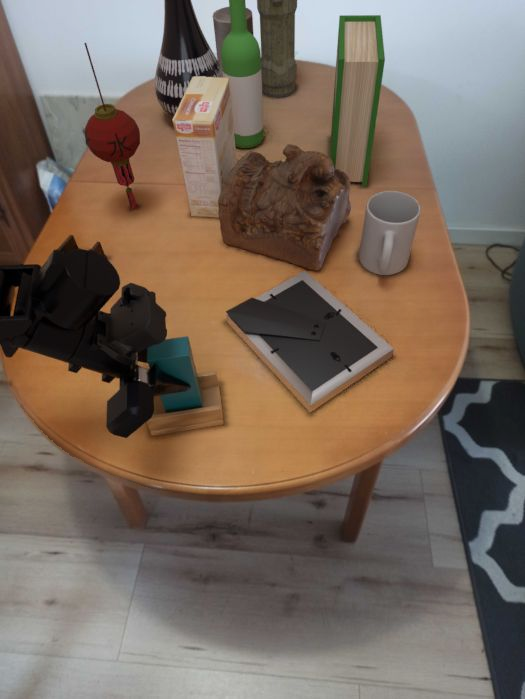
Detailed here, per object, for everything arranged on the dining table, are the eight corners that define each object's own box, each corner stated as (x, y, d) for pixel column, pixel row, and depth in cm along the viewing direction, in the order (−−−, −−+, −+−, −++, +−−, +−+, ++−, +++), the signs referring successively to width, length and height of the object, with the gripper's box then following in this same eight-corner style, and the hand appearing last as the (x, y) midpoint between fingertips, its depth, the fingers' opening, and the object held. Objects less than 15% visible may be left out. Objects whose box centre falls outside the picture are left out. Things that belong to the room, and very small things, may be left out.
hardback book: (366, 186, 101) (384, 59, 82) (329, 186, 101) (338, 59, 82) (364, 138, 111) (380, 15, 92) (330, 137, 112) (339, 15, 93)
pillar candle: (259, 66, 134) (257, 0, 122) (249, 83, 128) (245, 17, 116) (225, 62, 136) (219, -2, 124) (213, 80, 130) (205, 14, 118)
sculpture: (311, 279, 82) (205, 244, 87) (340, 266, 98) (249, 237, 104) (344, 156, 75) (226, 128, 81) (370, 164, 91) (270, 140, 97)
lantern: (164, 214, 98) (123, 48, 74) (116, 229, 96) (59, 63, 72) (150, 188, 103) (108, 25, 79) (105, 201, 101) (48, 38, 77)
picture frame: (227, 323, 81) (310, 413, 70) (225, 311, 79) (310, 402, 68) (304, 279, 86) (391, 357, 76) (304, 267, 84) (395, 345, 73)
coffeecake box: (206, 171, 106) (191, 75, 91) (239, 172, 105) (230, 76, 90) (189, 216, 97) (170, 119, 82) (225, 219, 97) (213, 120, 81)
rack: (76, 297, 86) (68, 281, 82) (44, 288, 87) (35, 272, 84) (107, 259, 91) (101, 242, 88) (76, 251, 93) (69, 234, 90)
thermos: (263, 102, 122) (255, -83, 94) (258, 79, 129) (250, -100, 102) (299, 99, 123) (302, -87, 95) (292, 76, 130) (293, -104, 102)
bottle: (241, 128, 116) (229, -29, 92) (270, 136, 113) (266, -23, 89) (222, 144, 112) (204, -15, 88) (252, 154, 109) (242, -8, 85)
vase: (162, 103, 124) (132, -44, 101) (226, 97, 125) (212, -50, 101) (161, 138, 115) (128, -15, 91) (230, 132, 115) (216, -22, 91)
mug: (360, 239, 91) (368, 187, 83) (409, 244, 90) (422, 192, 81) (353, 287, 84) (361, 236, 76) (406, 293, 83) (420, 242, 74)
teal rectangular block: (167, 418, 70) (146, 360, 59) (167, 399, 72) (147, 341, 61) (203, 413, 70) (189, 355, 60) (202, 395, 72) (188, 336, 62)
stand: (151, 435, 69) (144, 421, 66) (150, 395, 73) (144, 380, 70) (223, 424, 70) (220, 410, 67) (219, 385, 74) (216, 369, 71)
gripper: (107, 368, 46) (236, 410, 56) (112, 235, 57) (219, 289, 67) (52, 423, 52) (177, 453, 62) (66, 293, 63) (171, 335, 73)
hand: (187, 377), depth 66 cm, fingers closed on teal rectangular block, 3 cm apart
